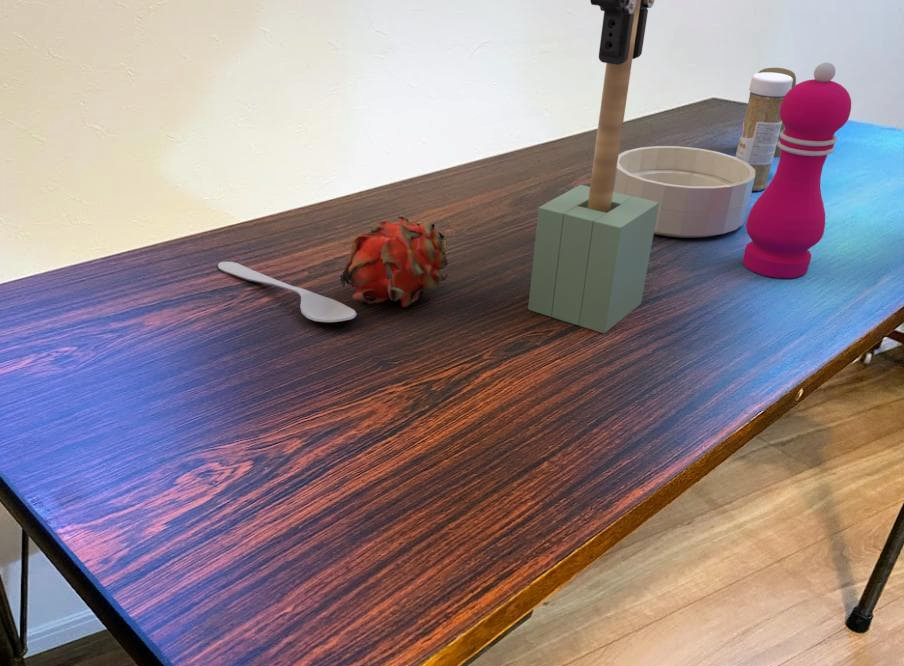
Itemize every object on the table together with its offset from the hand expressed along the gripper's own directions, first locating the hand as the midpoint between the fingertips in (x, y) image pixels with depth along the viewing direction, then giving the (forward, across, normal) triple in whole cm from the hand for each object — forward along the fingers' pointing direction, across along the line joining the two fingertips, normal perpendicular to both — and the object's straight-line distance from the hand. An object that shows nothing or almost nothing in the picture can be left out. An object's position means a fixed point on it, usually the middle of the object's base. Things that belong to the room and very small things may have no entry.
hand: (619, 59), depth 73 cm
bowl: (+22, +28, +3) cm, 36 cm away
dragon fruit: (+22, -10, +15) cm, 29 cm away
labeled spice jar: (+23, +60, +4) cm, 64 cm away
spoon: (+22, -16, +24) cm, 36 cm away
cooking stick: (+15, 0, 0) cm, 15 cm away
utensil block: (+22, 0, 0) cm, 22 cm away
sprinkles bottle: (+23, +44, 0) cm, 49 cm away
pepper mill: (+23, +21, -11) cm, 32 cm away
